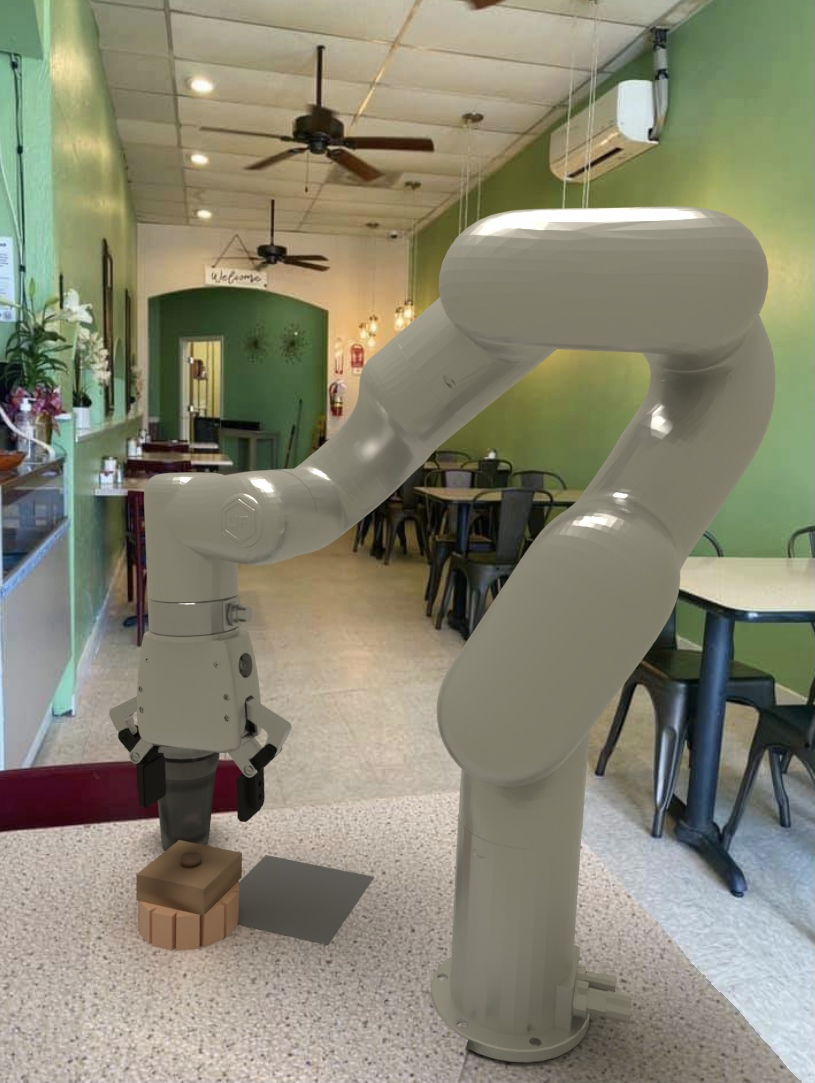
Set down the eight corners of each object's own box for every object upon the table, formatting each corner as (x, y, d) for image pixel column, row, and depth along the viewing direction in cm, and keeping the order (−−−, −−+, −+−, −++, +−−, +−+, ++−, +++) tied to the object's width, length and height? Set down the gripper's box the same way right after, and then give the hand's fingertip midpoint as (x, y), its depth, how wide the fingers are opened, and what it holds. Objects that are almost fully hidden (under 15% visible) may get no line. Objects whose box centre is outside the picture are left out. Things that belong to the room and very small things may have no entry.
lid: (241, 877, 75) (242, 846, 75) (203, 915, 69) (203, 882, 69) (179, 864, 77) (179, 834, 77) (136, 900, 71) (136, 867, 71)
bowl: (255, 914, 76) (255, 874, 76) (206, 969, 68) (206, 925, 68) (174, 896, 79) (174, 857, 78) (118, 947, 71) (118, 904, 70)
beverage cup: (201, 874, 83) (203, 683, 81) (136, 865, 84) (136, 676, 82) (231, 841, 90) (233, 664, 88) (170, 833, 91) (171, 658, 89)
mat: (373, 886, 82) (374, 876, 82) (327, 955, 71) (328, 944, 71) (265, 864, 86) (266, 855, 85) (205, 926, 74) (205, 916, 74)
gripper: (305, 614, 71) (308, 803, 73) (134, 604, 76) (141, 781, 78) (265, 631, 64) (270, 840, 66) (80, 619, 69) (89, 814, 71)
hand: (200, 808), depth 72 cm, fingers open, 9 cm apart
